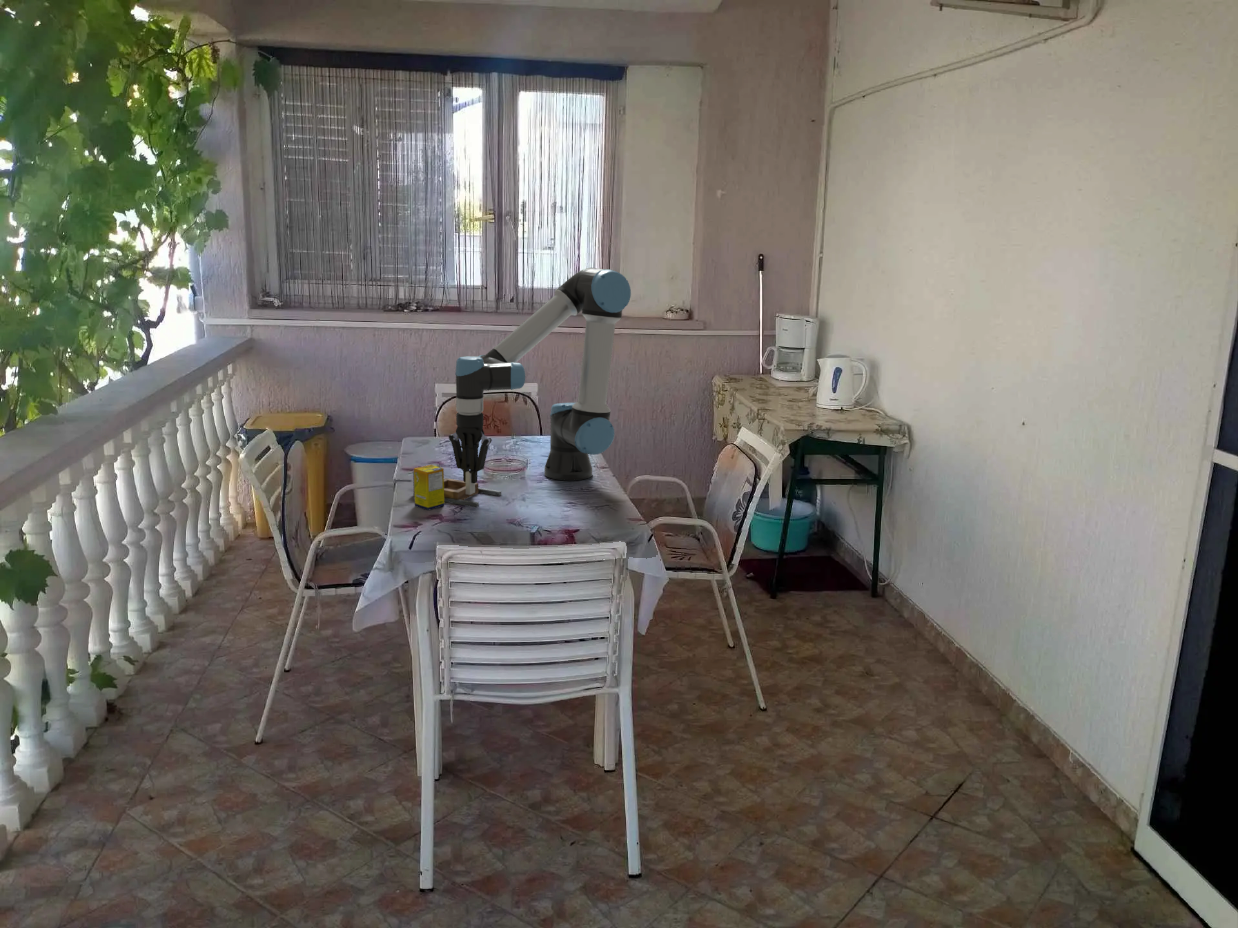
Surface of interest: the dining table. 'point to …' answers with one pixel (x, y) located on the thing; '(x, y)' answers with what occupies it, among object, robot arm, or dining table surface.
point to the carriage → (457, 489)
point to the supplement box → (429, 487)
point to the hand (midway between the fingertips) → (470, 493)
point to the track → (466, 502)
